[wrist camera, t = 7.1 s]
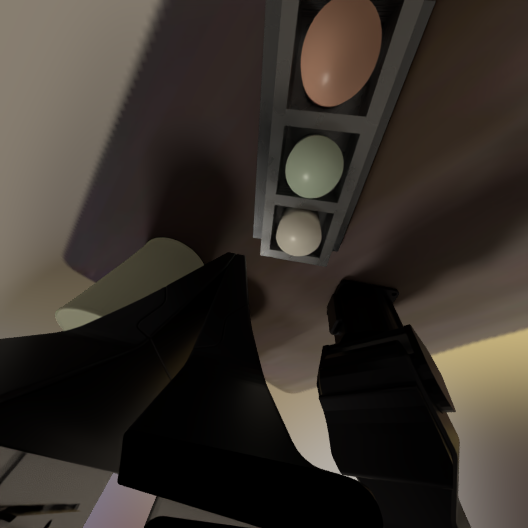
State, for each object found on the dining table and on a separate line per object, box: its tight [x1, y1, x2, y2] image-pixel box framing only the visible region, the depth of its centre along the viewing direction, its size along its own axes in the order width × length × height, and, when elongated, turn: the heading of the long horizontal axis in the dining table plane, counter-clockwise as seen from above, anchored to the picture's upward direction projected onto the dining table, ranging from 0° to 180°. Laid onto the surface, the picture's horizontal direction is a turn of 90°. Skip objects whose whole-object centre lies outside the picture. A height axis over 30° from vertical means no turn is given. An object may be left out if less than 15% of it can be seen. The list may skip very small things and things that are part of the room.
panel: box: [253, 0, 436, 267], centre depth 14 cm, size 9×16×4 cm, turn 175°
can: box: [55, 238, 204, 331], centre depth 22 cm, size 9×9×12 cm
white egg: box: [276, 207, 322, 256], centre depth 16 cm, size 4×4×4 cm
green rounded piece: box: [285, 134, 343, 198], centre depth 13 cm, size 4×4×4 cm
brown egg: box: [301, 0, 382, 109], centre depth 10 cm, size 4×4×4 cm
